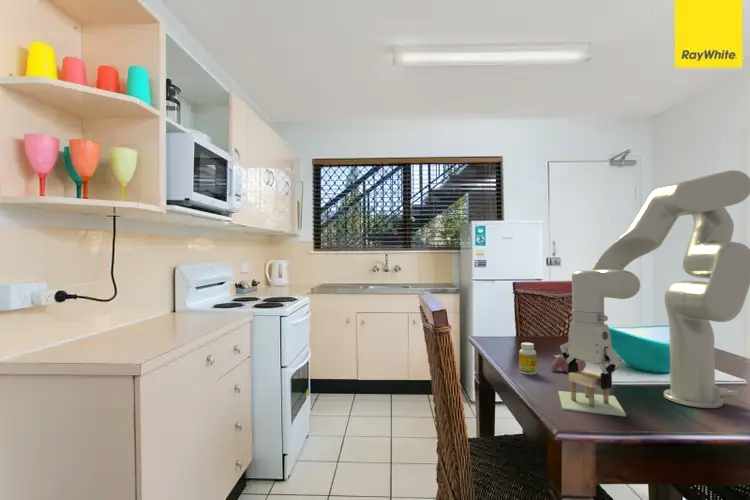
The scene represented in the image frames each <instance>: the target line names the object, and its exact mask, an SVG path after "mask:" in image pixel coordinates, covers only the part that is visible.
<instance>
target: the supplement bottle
mask: <svg viewBox="0 0 750 500" xmlns="http://www.w3.org/2000/svg"><path fill="white" fill-rule="evenodd" d="M534 344H535V343H532V342H521V344H520V347H521V348H520V349H519V352H518V356H519V357H518V358H519V359H518V360H519V363H518V364H519V367H518V368H519V372H520V374H522V375H528V376H529V375H532V376H533V375H536V374H537V372H538V371H537V370H538V369H537V352H536V350H535V349H534V348H535V345H534Z"/></svg>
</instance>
